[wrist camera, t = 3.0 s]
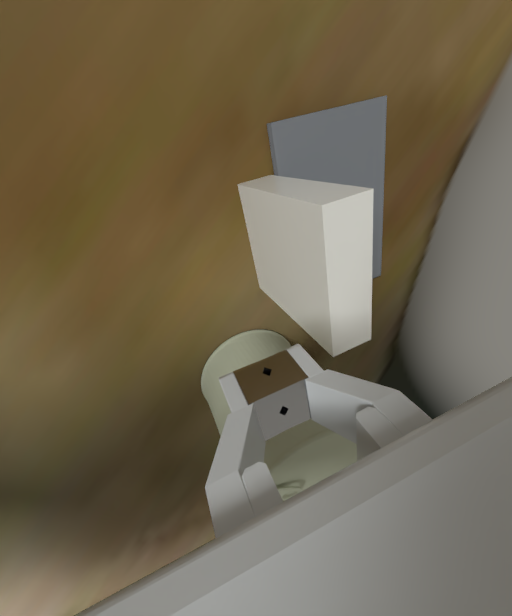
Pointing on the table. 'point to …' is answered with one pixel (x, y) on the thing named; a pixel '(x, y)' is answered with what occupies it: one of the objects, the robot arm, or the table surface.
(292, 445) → the pale green cylinder
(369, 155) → the mat
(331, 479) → the robot arm
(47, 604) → the table surface
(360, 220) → the white box
